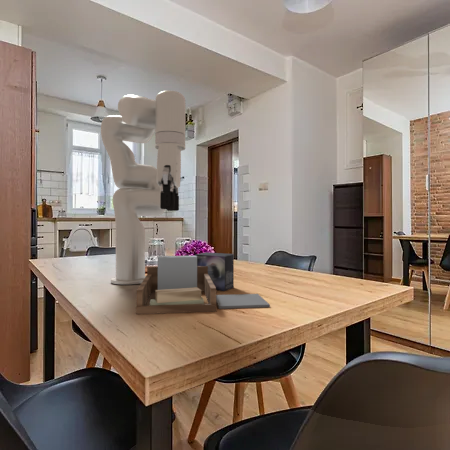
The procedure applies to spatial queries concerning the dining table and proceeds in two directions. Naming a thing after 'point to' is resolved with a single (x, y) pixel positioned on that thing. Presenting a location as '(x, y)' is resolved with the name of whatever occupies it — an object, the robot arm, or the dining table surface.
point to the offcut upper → (177, 295)
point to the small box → (218, 269)
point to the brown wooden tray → (202, 283)
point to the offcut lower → (153, 302)
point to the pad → (240, 301)
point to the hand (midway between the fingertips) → (170, 209)
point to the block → (177, 272)
